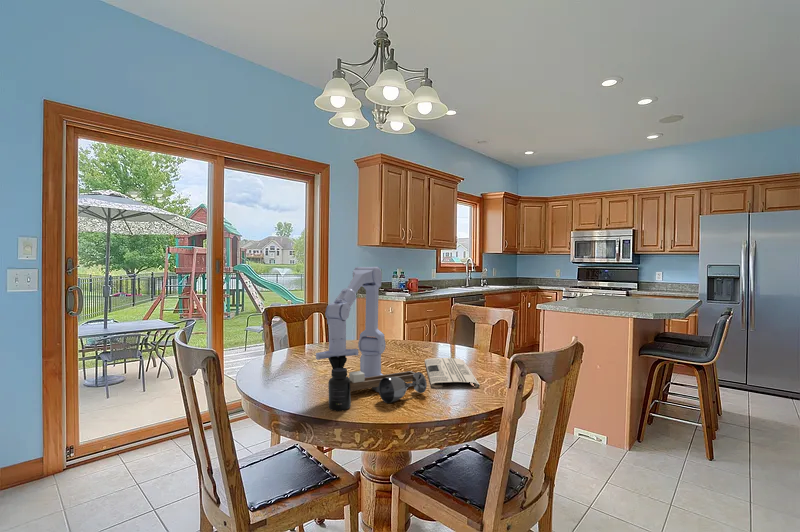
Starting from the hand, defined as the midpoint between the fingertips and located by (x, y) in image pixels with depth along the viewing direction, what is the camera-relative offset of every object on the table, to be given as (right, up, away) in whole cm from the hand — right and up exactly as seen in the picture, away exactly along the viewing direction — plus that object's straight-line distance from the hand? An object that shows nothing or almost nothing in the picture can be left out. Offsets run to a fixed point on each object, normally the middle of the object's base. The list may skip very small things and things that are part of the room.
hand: (337, 378), depth 137 cm
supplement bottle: (+2, -6, -11) cm, 13 cm away
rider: (+6, -3, +3) cm, 8 cm away
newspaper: (+42, -6, +27) cm, 51 cm away
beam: (+14, -6, +7) cm, 17 cm away
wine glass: (+28, -2, +3) cm, 28 cm away
